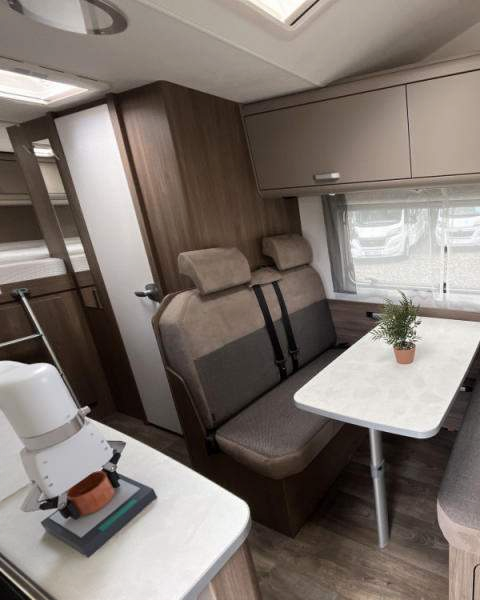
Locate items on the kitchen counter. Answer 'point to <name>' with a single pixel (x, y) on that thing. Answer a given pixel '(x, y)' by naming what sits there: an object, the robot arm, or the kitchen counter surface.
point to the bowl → (91, 493)
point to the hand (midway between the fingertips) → (94, 499)
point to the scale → (101, 518)
